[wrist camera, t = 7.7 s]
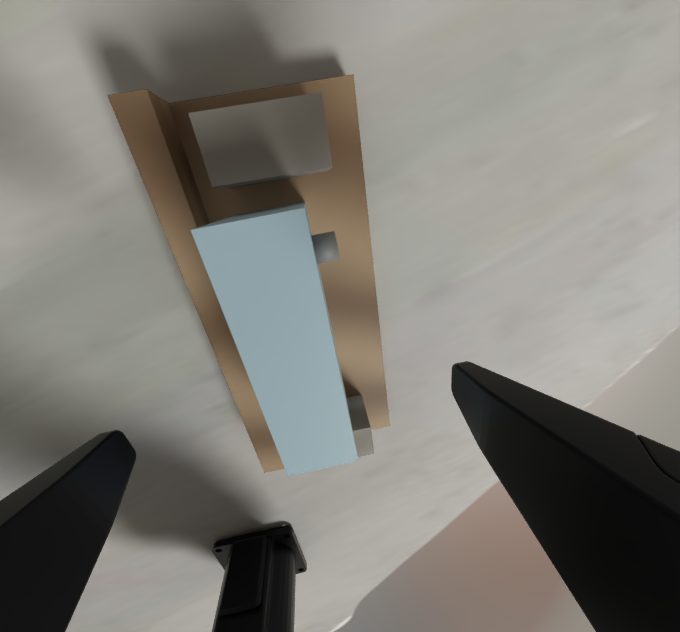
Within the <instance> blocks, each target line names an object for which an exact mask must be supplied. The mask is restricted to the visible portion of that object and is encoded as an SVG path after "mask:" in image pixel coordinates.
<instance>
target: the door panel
mask: <svg viewBox="0 0 680 632" xmlns="http://www.w3.org/2000/svg"><path fill="white" fill-rule="evenodd" d="M191 233H192V235H193V238H194V240H195V243H196V245H197V248H198V250H199V253H200V255H201V258H202V260H203V263H204V266H205V268H206V271H207V273H208V276H209V278H210V281H211V283H212V286H213V288H214V291H215V293H216V296H217V298H218V301H219V303H220V306H221V309H222V311H223V314H224V316H225V319H226V321H227V324H228V326H229V329H230V331H231V334H232V336H233V339H234V341H235V344H236V346H237V349H238V352H239V354H240V357H241V359H242V362H243V364H244V367H245V369H246V372H247V374H248V377H249V379H250V382H251V384H252V387H253V390H254V392H255V395H256V397H257V400H258V402H259V405H260V407H261V410H262V412H263V415H264V417H265V420H266V422H267V425H268V427H269V430H270V433H271V435H272V438H273V440H274V443H275V445H276V448H277V450H278V453H279V455H280V458H281V460H282V463H283V465H284V468H285V470H286V473H287V476H292V475H297V474H301V473H306V472H310V471H315V470H319V469H324V468H328V467H333V466H337V465H342V464H346V463H351V462H355V461H358V456H357V450H356V445H355V440H354V435H353V430H352V424H351V419H350V414H349V409H348V404H347V399H346V393H345V388H344V383H343V378H342V374H341V369H340V364H339V359H338V355H337V350H336V345H335V340H334V336H333V331H332V326H331V322H330V317H329V312H328V307H327V303H326V298H325V293H324V288H323V284H322V279H321V274H320V269H319V265H318V264H321V263H326V262H331V261H336V260H339V259H340V258H339V251H338V245H337V240H336V236H335V232H334V231H331V232H326V233H321V234H316V235H312V232H311V227H310V222H309V217H308V213H307V208H306V203H305V202H301V203H296V204H290V205H285V206H280V207H275V208H270V209H265V210H259V211H254V212H249V213H244V214H239V215H234V216H231V217H228V218H225V219H222V220H219V221H216V222H213V223H210V224H207V225H204V226H201V227H198V228H195V229H192V230H191Z"/></svg>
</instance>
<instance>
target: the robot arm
mask: <svg viewBox="0 0 680 632" xmlns="http://www.w3.org/2000/svg"><path fill="white" fill-rule="evenodd" d="M451 388H452V393H453V396H454V398H455V400H456V402H457V404H458V406H459V408H460V410H461V412H462V414H463V416H464V418H465V420H466V422H467V424H468V426H469V428H470V430H471V432H472V434H473V436H474V438H475V440H476V442H477V444H478V446H479V448H480V449H481V451H482V453H483V454H484V456H485V457H486V459H487V461H488V462H489V464H490V465H491V467H492V469H493V470H494V472H495V473H496V475H497V476H498V478H499V480H500V481H501V483H502V484H503V486H504V487H505V489H506V491H507V492H508V494H509V495H510V497H511V498H512V500H513V502H514V503H515V505H516V506H517V508H518V510H519V511H520V513H521V514H522V516H523V517H524V519H525V521H526V522H527V524H528V525H529V527H530V528H531V530H532V532H533V533H534V535H535V536H536V538H537V540H538V541H539V543H540V544H541V546H542V547H543V549H544V551H545V552H546V554H547V555H548V557H549V558H550V560H551V562H552V563H553V565H554V566H555V568H556V570H557V571H558V573H559V574H560V576H561V577H562V579H563V581H564V582H565V584H566V585H567V587H568V588H569V590H570V591H571V593H572V594H573V596H574V598H575V600H576V601H577V603H578V604H579V606H580V607H581V609H582V610H583V612H584V613H585V615H586V617H587V618H588V620H589V622H590V623H591V625H592V626H593V628H594V629H595V631H596V632H680V451H677V450H675V449H672V448H670V447H668V446H665V445H663V444H661V443H658V442H656V441H654V440H651V439H649V438H647V437H644V436H642V435H636V434H635V433H634V432H632V431H630V430H628V429H625V428H623V427H621V426H618V425H616V424H614V423H611V422H609V421H607V420H604V419H602V418H600V417H597V416H595V415H593V414H590V413H588V412H586V411H583V410H581V409H579V408H576V407H574V406H572V405H569V404H567V403H565V402H562V401H560V400H558V399H555V398H553V397H551V396H548V395H546V394H544V393H541V392H539V391H537V390H534V389H532V388H530V387H527V386H525V385H523V384H520V383H518V382H516V381H513V380H511V379H509V378H506V377H504V376H502V375H499V374H497V373H495V372H492V371H490V370H488V369H485V368H483V367H481V366H478V365H476V364H474V363H471V362H468V361H466V362H461V363H456V364H454V365H453V367H452V383H451ZM135 460H136V452H135V449H134V448H133V446H132V445H131V444H130V442H129V441H128V439H127V438H126V436H125V435H124V433H123V432H121V431H119V430H114V431H109V432H104V433H101V434H99V435H97V436H96V437H94V438H93V439H91V440H90V441H88V442H87V443H85V444H84V445H82V446H81V447H79V448H78V449H76V450H75V451H73V452H72V453H70V454H69V455H68V456H66V457H65V458H63V459H62V460H60V461H59V462H57V463H56V464H54V465H53V466H51V467H50V468H48V469H47V470H45V471H44V472H42V473H41V474H39V475H38V476H36V477H35V478H33V479H32V480H31V481H29V482H28V483H26V484H25V485H23V486H22V487H20V488H19V489H17V490H16V491H14V492H13V493H11V494H10V495H8V496H7V497H5V498H4V499H2V500H1V501H0V632H65V631H66V629H67V627H68V624H69V622H70V620H71V618H72V615H73V613H74V611H75V609H76V606H77V604H78V602H79V600H80V597H81V595H82V593H83V591H84V588H85V586H86V584H87V582H88V579H89V577H90V575H91V573H92V570H93V568H94V566H95V564H96V561H97V559H98V557H99V555H100V552H101V550H102V548H103V546H104V543H105V541H106V539H107V537H108V534H109V532H110V530H111V527H112V525H113V522H114V520H115V517H116V514H117V512H118V509H119V506H120V503H121V500H122V497H123V495H124V492H125V489H126V486H127V483H128V480H129V477H130V475H131V472H132V469H133V466H134V463H135ZM212 552H213V553H214V555H215V556H216V558H217V559H218V561H219V562H220V564H221V565H222V567H223V568H224V570H225V573H224V578H223V582H222V587H221V592H220V596H219V601H218V606H217V610H216V615H215V619H214V624H213V629H212V632H294V612H295V577H296V574H298V573H302V572H305V571H306V570H307V563H306V561H305V558H304V556H303V553H302V551H301V548H300V546H299V543H298V541H297V538H296V536H295V533H294V531H293V529H292V528H291V527H283V528H279V529H274V530H269V531H265V532H260V533H255V534H251V535H246V536H241V537H237V538H232V539H227V540H223V541H218V542H216V543H214V546H213V550H212Z"/></svg>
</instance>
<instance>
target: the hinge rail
mask: <svg viewBox="0 0 680 632" xmlns="http://www.w3.org/2000/svg"><path fill="white" fill-rule="evenodd" d="M108 98H109V100H110V103H111V105H112V107H113V110H114V112H115V115H116V117H117V119H118V122H119V124H120V127H121V129H122V131H123V134H124V136H125V139H126V141H127V143H128V146H129V148H130V151H131V153H132V155H133V158H134V160H135V163H136V165H137V167H138V170H139V172H140V175H141V177H142V179H143V182H144V184H145V187H146V189H147V191H148V194H149V196H150V199H151V201H152V204H153V206H154V208H155V211H156V213H157V216H158V218H159V220H160V223H161V225H162V228H163V230H164V232H165V235H166V237H167V240H168V242H169V244H170V247H171V249H172V252H173V254H174V256H175V259H176V261H177V264H178V266H179V268H180V271H181V273H182V276H183V278H184V280H185V283H186V285H187V288H188V290H189V292H190V295H191V297H192V300H193V302H194V304H195V307H196V309H197V312H198V314H199V316H200V319H201V321H202V324H203V326H204V329H205V331H206V333H207V336H208V338H209V341H210V343H211V345H212V348H213V350H214V353H215V355H216V357H217V360H218V362H219V365H220V367H221V369H222V372H223V374H224V377H225V379H226V381H227V384H228V386H229V389H230V391H231V393H232V396H233V398H234V401H235V403H236V405H237V408H238V410H239V413H240V415H241V417H242V420H243V422H244V425H245V427H246V429H247V432H248V434H249V437H250V439H251V441H252V444H253V446H254V449H255V451H256V453H257V456H258V458H259V461H260V463H261V466H262V468H263V470H264V473H265V472H270V471H275V470H280V469H284V465H283V463H282V460H281V458H280V455H279V453H278V450H277V448H276V445H275V443H274V440H273V438H272V435H271V433H270V430H269V427H268V425H267V422H266V420H265V417H264V415H263V412H262V410H261V407H260V405H259V402H258V400H257V397H256V395H255V392H254V390H253V387H252V384H251V382H250V379H249V377H248V374H247V372H246V369H245V367H244V364H243V362H242V359H241V357H240V354H239V352H238V349H237V346H236V344H235V341H234V339H233V336H232V334H231V331H230V329H229V326H228V324H227V321H226V319H225V316H224V314H223V311H222V309H221V306H220V303H219V301H218V298H217V296H216V293H215V291H214V288H213V286H212V283H211V281H210V278H209V276H208V273H207V271H206V268H205V266H204V263H203V260H202V258H201V255H200V253H199V250H198V248H197V245H196V243H195V240H194V238H193V235H192V233H191V230H192V229H195V228H198V227H201V226H204V225H207V224H210V223H213V222H216V221H219V220H222V219H225V218H228V217H231V216H234V215H239V214H244V213H249V212H254V211H259V210H265V209H270V208H275V207H280V206H285V205H290V204H296V203H301V202H305V203H306V208H307V213H308V217H309V222H310V227H311V232H312V235H316V234H321V233H326V232H331V231H334V232H335V236H336V240H337V245H338V251H339V258H340V259H339V260H336V261H331V262H326V263H321V264H318V265H319V269H320V274H321V279H322V284H323V288H324V293H325V298H326V303H327V307H328V312H329V317H330V322H331V326H332V331H333V336H334V340H335V345H336V350H337V355H338V359H339V364H340V369H341V374H342V378H343V383H344V388H345V393H346V399H347V404H348V409H349V414H350V419H351V424H352V430H353V435H354V440H355V445H356V450H357V456H358V457H360V456H365V455H369V454H374V447H373V440H372V434H371V430H372V429H377V428H382V427H387V426H390V422H389V413H388V403H387V393H386V384H385V374H384V364H383V355H382V345H381V335H380V326H379V316H378V306H377V297H376V287H375V277H374V268H373V258H372V248H371V239H370V229H369V219H368V210H367V200H366V190H365V181H364V171H363V161H362V152H361V142H360V132H359V123H358V113H357V103H356V94H355V84H354V75H347V76H340V77H334V78H327V79H321V80H315V81H308V82H302V83H295V84H289V85H283V86H276V87H270V88H263V89H257V90H250V91H244V92H238V93H231V94H225V95H218V96H212V97H206V98H199V99H193V100H186V101H180V102H174V103H167V102H166V101H164V100H163V99H161V98H160V97H158V96H156V95H155V94H153V93H152V92H150V91H149V90H147V89H144V90H138V91H131V92H125V93H118V94H112V95H108Z"/></svg>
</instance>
